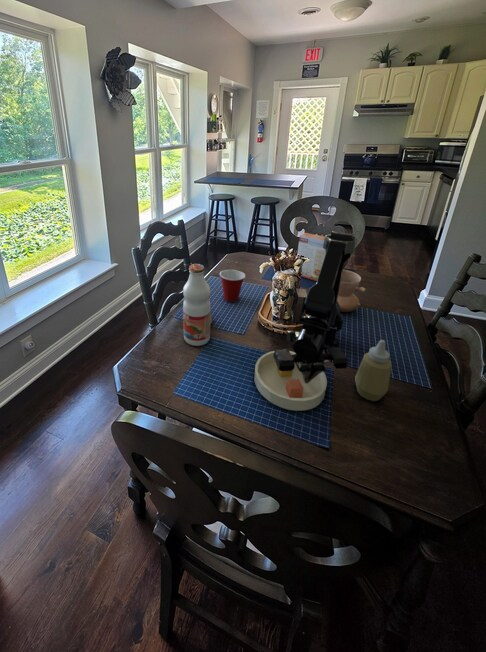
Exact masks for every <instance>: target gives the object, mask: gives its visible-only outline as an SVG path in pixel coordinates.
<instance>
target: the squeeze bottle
mask: <svg viewBox="0 0 486 652" xmlns="http://www.w3.org/2000/svg"><path fill="white" fill-rule="evenodd" d="M391 371H392V362H391V360H390V353H389V351H388V350H386V341H385V339H380V340H379V341H378V342H377V344H376V346H372V347H370V348H369V351H368V352H366V353H364V355H363V356H362V359H361V362H360V364H359V366H358V370H357V372H356V373H355V376H354V379H355V380H354V381H355V386H356V391H357V393H358V395H360V397H362V398H364V399H366V400H367V401H371V402H378V401H380V400H381V399H382V398H383V397H384V396H385V395H386V394H387V392H388V390H389V385H390V380H391Z"/></svg>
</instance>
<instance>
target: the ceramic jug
mask: <svg viewBox="0 0 486 652" xmlns="http://www.w3.org/2000/svg"><path fill="white" fill-rule="evenodd" d="M361 281H362V277H361V275H359V274H358V273H356V272H354V271H351V270H347V269H343V273H342V278H341V283H340V288H339V294H338V299H337V302H338V303H339V305H340V307H341V311H340V313H350V312H353V311H355V310H357V309H358V308H360V307H361V302H360V299H359V298H358V296H357V295H355V293H354V292H357V291H359V292H360V291H361V292H362V293H364V292H365V291H366V288H365V287H363V286H359V285H360V284H361Z"/></svg>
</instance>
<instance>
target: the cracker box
mask: <svg viewBox="0 0 486 652" xmlns="http://www.w3.org/2000/svg"><path fill="white" fill-rule="evenodd" d="M324 239H325V236H323V235H318V234H313V233H308V232H303V233H301V234H300V235H299V239H298V247H297V254H300V255H302V256H304V257H306V258H309V259H310V261H311V262H306V263H304V264H303V266H302V272H301V274H302V275H301V276H300V277H301V278H304V279H308V280H311V281H315V282H317V280H318V277H319V273H320V270H321V267H322V264H323V261H324V257H325V254H326V252H325V249H324V248H323V244H324Z"/></svg>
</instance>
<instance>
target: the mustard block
mask: <svg viewBox="0 0 486 652" xmlns="http://www.w3.org/2000/svg"><path fill="white" fill-rule="evenodd" d="M277 370H278V372H279V375H280V377H288V376H292V372H293V370H292V371H280V370H279V369H278V366H277Z"/></svg>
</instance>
